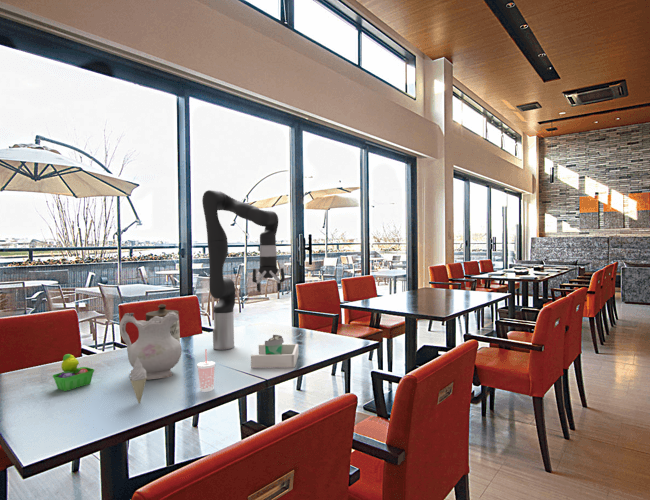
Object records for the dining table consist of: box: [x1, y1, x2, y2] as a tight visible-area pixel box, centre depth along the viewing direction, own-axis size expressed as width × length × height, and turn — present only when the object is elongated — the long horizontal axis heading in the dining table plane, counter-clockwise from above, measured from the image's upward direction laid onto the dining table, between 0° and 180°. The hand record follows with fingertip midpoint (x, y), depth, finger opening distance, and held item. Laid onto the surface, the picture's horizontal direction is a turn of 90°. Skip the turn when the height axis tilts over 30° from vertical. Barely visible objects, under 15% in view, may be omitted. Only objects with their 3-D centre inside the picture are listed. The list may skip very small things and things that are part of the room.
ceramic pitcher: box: [119, 312, 183, 381], centre depth 162 cm, size 22×20×25 cm
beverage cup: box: [196, 348, 216, 393], centre depth 146 cm, size 6×6×14 cm
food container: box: [264, 334, 284, 355], centre depth 178 cm, size 12×6×10 cm, turn 170°
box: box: [250, 343, 300, 369], centre depth 178 cm, size 18×18×5 cm
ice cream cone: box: [129, 357, 147, 404], centre depth 134 cm, size 5×5×15 cm
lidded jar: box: [145, 303, 181, 343], centre depth 199 cm, size 15×15×22 cm
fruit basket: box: [52, 353, 95, 392], centre depth 152 cm, size 11×9×11 cm
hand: (268, 291), depth 190 cm, fingers open, 8 cm apart
